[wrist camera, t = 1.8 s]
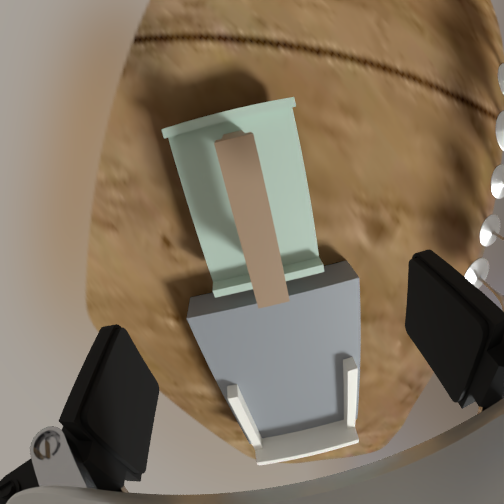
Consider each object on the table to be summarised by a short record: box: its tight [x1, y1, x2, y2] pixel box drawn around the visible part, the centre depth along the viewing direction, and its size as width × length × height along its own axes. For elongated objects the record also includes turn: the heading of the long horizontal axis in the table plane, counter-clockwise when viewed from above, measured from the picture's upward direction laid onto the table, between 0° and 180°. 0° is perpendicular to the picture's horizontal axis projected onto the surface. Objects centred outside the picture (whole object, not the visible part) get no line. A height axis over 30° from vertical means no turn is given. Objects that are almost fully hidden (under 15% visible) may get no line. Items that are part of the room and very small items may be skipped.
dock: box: [187, 260, 360, 465], centre depth 28 cm, size 22×14×6 cm, turn 13°
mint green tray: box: [161, 97, 324, 309], centre depth 19 cm, size 12×8×8 cm, turn 13°
